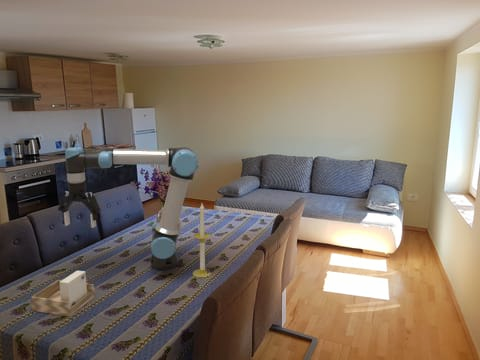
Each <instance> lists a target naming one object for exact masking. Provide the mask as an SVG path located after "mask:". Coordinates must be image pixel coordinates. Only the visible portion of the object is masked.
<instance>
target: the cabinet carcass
mask: <svg viewBox="0 0 480 360" xmlns="http://www.w3.org/2000/svg"><path fill="white" fill-rule="evenodd" d="M62 280H63V279H57V280H55V281H54V282H52V283H51V284H49V285H47V286H46V287H44V288H43V289H41V290H39V291H38V292H36V293H35V294H33V295H32V296H30V303H31V312H32V311H33V312H38V313H39V312H40V313H47V314H52V315H59V316H62V317H63V316H64V317H71V316H73V315H74V314H75V313H76V312H78V311H79V310H80V309H82V308H83V307H84V306H85V305H86V304H88V303H90V301H91V300H93V299H94V298H95V287H94V284H93V283H87V282H86V286H87V295H86V296H85V297H83V298H82V299H81V300H79V301H78V302H77V303H76V304H74V305H73V306H72V307H70V302H66V301H61V294H60V283H59V282H60V281H62Z"/></svg>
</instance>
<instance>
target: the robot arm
mask: <svg viewBox="0 0 480 360" xmlns="http://www.w3.org/2000/svg"><path fill="white" fill-rule="evenodd" d="M64 152H65V155H64V157H65V158H64V160H65V166H66V176H67V177H66V179H67V189H68V190H66V191H63V192H62V198H61V200H60V203H59V205H58V207H57V208H58V209H57V211H61V213H62V219H64V227H68V226H69V225H71V221H70V220H71V219H70V211H69V209H70V207H71V206H72V204H73V203H74V202H78V203H82V204H83V205H85V207H86V208H87V209H88V210H89V212H90V214H89V216H90V228H92V229H94V228H95V227H97V219H98V213H99V212H101V208H100V206H99V205H98V202H97V201H96V198H95V197H94V193H93V191H90V192H87V183H86V171H85V169H106V168H107V169H109V168H111V167H112V165H142V166H143V165H146V166H148V165H152V166H154V165H155V166H166V167H167V168H170V169H169V173H168V175H169V178H170V182H169V185H168V189H167V193H166V197H165V201H164V205H163V209H162V212H161V217H160V221H158V222H154V223H152V225H151V230H152V231H151V232H152V233H151V234H152V235H151V242H150V251H151V256H150V260H149V266H150V268H152V269H154V270H158V271H159V270H160V271H162V270H171V269H173V268H176V267H177V266H179V263H180V261H179V256H178V254H177V251H176V249H177V246H176V245H177V242H178V241H177V240H178V236H179V233H180V232H179V230H178V225H179V221H180V216H181V213H182V209H183V206H184V201H185V199H186V194H187V190H188V187H189V183H190V182H192V181H193V179H194V176H195V173H196V171H197V169H198V166H199V159H198V157H197V154H195V152H194V151H193V150H192V149H190V148H189V147H185V146H184V147H168V148H166V149H138V148H137V149H135V148H134V149H133V148H131V149H130V148H129V149H128V148H108V147H100V148H98V149H97V150H96V151H84V149H83V148H82V147H77V146H76V147H75V146H74V147H68V148H67V147H66V149H65V151H64Z"/></svg>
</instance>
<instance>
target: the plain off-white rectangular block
mask: <svg viewBox="0 0 480 360" xmlns="http://www.w3.org/2000/svg"><path fill="white" fill-rule="evenodd" d="M86 275H87V274H86V271H84V270H76V271H74V272H73V273H71V274H69V275H68V276H67V277H65V278H63V279H61V280H62V281H60V282H59V283H60V294H61V301H66V302H70V307H72V306H73V305H74V304H76V303H77V302H78V301H79V300H81V299H82V298H83V297H85V296H86V295H87V286H86V283H87V277H86Z"/></svg>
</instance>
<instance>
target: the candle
mask: <svg viewBox="0 0 480 360" xmlns="http://www.w3.org/2000/svg"><path fill="white" fill-rule="evenodd" d="M193 238H194V239H198V240H199V268H198V269H195V270H193V272H192V276H193V275H194V276H193V277H195V276H196V277H195V278H197V277H206V278H208V277H207V276H209V277H211V276H210V274H209V273H208V274H207V271H206V270H207V268H206V258H205V257H206V253H205V251H206V243H205V242H206V241H205V240H206V239H210V238H211V234H210V233H208V232H205V206H204V204H203V202H201V205H200V207H199V232H197V233H195V234H194V235H193ZM211 274H212V275H213V272H212V273H211Z"/></svg>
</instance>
